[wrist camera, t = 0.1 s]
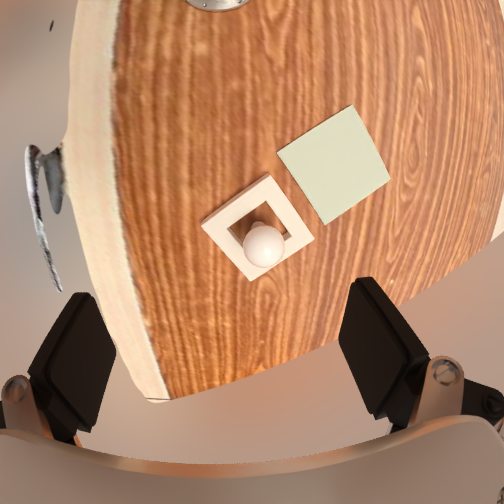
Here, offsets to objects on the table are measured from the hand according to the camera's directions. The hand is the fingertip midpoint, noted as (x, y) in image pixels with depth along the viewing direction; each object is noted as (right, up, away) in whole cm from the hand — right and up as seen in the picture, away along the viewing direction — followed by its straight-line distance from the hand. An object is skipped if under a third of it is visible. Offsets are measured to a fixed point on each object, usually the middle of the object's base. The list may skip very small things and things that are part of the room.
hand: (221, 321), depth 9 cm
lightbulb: (+2, +7, +39) cm, 40 cm away
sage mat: (+16, +18, +35) cm, 42 cm away
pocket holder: (+2, +7, +39) cm, 39 cm away
